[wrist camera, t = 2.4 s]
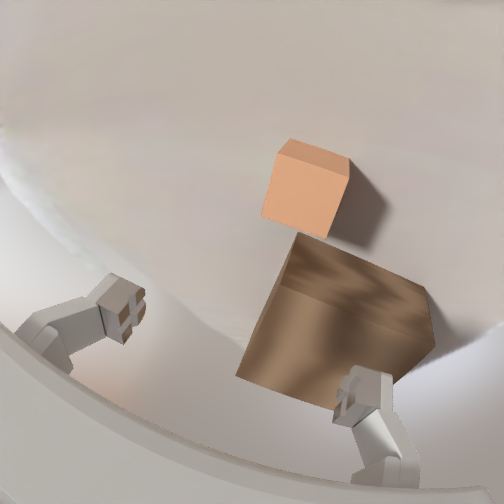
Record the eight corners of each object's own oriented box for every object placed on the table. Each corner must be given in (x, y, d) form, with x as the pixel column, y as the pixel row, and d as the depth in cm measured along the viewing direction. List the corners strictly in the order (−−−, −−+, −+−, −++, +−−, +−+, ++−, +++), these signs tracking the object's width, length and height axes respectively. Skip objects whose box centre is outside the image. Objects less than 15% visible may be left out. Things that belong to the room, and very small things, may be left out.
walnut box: (423, 285, 27) (435, 346, 20) (358, 362, 35) (352, 416, 29) (298, 230, 28) (279, 284, 22) (256, 323, 36) (235, 375, 30)
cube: (349, 158, 23) (349, 177, 19) (330, 210, 26) (325, 239, 22) (290, 138, 23) (277, 153, 19) (275, 191, 26) (260, 216, 22)
